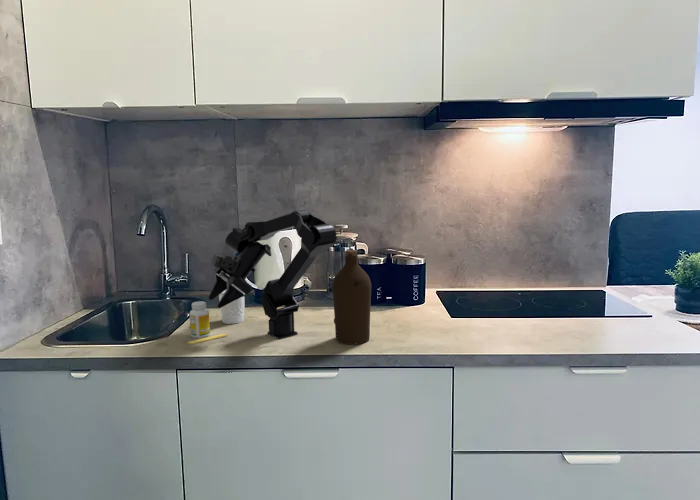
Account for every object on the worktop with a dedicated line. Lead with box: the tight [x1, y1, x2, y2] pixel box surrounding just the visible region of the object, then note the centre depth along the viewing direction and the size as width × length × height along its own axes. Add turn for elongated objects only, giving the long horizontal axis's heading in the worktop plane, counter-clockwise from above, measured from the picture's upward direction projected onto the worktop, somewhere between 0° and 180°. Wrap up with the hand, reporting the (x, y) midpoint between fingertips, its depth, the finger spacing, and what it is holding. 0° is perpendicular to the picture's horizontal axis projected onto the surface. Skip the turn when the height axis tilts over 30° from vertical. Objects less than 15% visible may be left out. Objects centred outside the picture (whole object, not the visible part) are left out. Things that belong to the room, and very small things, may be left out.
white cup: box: [218, 289, 245, 325], centre depth 166 cm, size 8×8×10 cm
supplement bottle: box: [189, 301, 211, 339], centre depth 152 cm, size 5×5×10 cm
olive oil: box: [332, 249, 372, 346], centre depth 145 cm, size 11×11×25 cm
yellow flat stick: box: [187, 333, 228, 346], centre depth 149 cm, size 11×2×1 cm, turn 130°
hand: (213, 303), depth 153 cm, fingers open, 9 cm apart
